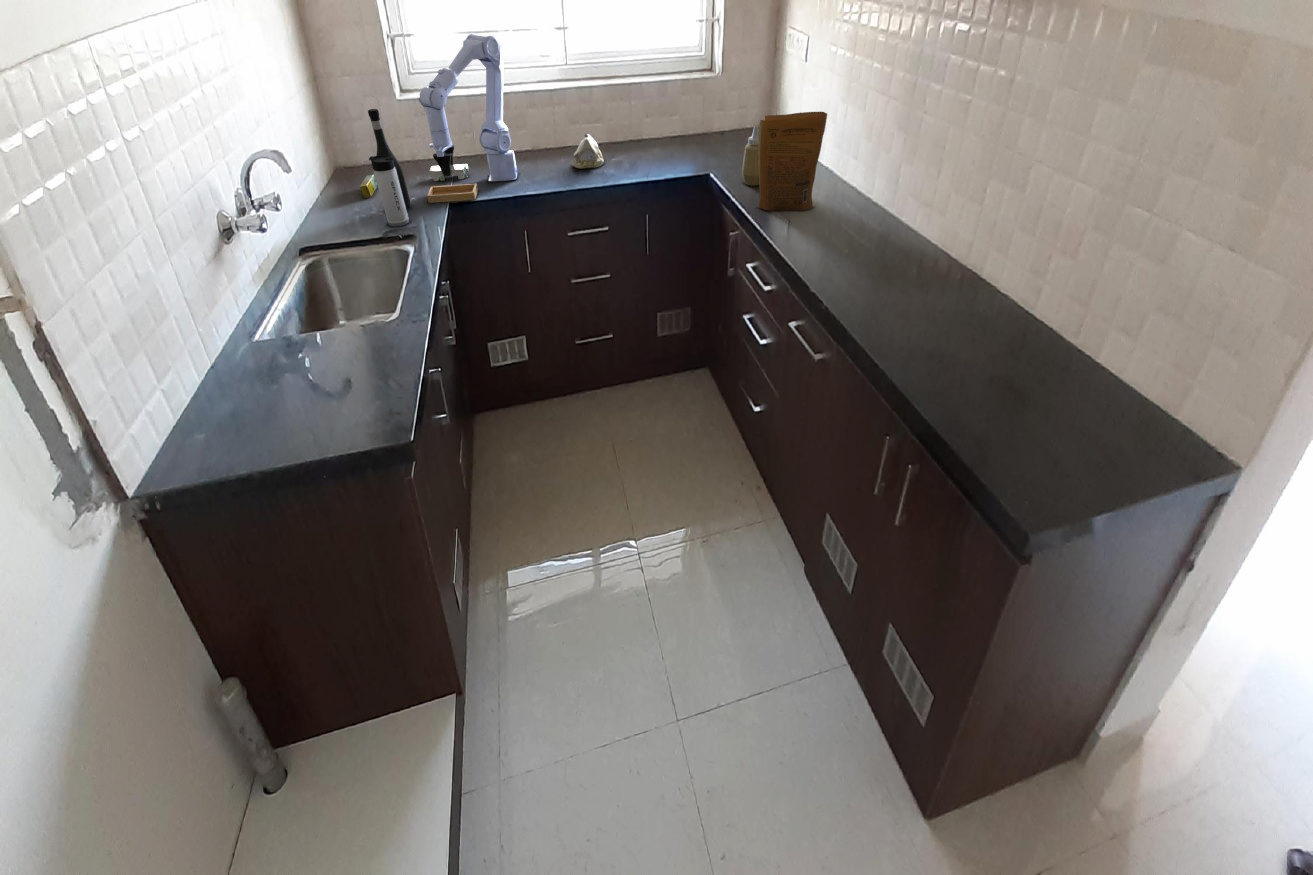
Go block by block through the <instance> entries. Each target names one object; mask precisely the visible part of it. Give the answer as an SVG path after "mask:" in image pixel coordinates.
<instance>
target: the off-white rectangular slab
mask: <svg viewBox="0 0 1313 875" xmlns="http://www.w3.org/2000/svg"><path fill="white" fill-rule="evenodd" d="M465 164H466V163H462V164H460V163H459V164H453V165H450V168H451V175H450V176H449V177H453V176H457V179H458V180H463V179H465V178H464V175H465V172H466V165H465ZM428 173H429V177H430V178H432V180H433V181H434V182H437V181H440V176H444V175H443V173H442V171H441V169H440V166H439V165H431V166H430V169H429V171H428Z"/></svg>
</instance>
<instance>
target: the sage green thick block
mask: <svg viewBox="0 0 1313 875" xmlns="http://www.w3.org/2000/svg"><path fill="white" fill-rule="evenodd" d="M464 164H465V165H466V172H465V175H464V178H463V179H467V178H469V174H470V170H469V166H468V163H464ZM445 177H446V176H440V178H439V181H440V182H442V181H446V178H445Z"/></svg>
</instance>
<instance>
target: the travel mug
mask: <svg viewBox="0 0 1313 875" xmlns="http://www.w3.org/2000/svg"><path fill="white" fill-rule="evenodd" d="M368 161H370V163H371V166H372V170H373V174H374V176H375V179H376V181H377V185H378V186H377V188H378V192H379V195H380V199H381V202H382V206H383V209H384V212H385V216H386V219H387V224H388V225H389V226H390V227H394V228H395V227H396V228H397V227H403V226H405V225H408V223H409V222H410V219H409V214H408V210H406V207H405V203H404V199H403V195H402V191H401V187H400V184H399V180H398V176H397V172H396V169H395V165H394V162H393V159H392V157H390V156H383V155H381V156H376V155H374V156H373V155H371V156H370V157H368Z"/></svg>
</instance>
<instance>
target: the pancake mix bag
mask: <svg viewBox="0 0 1313 875" xmlns="http://www.w3.org/2000/svg"><path fill="white" fill-rule="evenodd" d="M827 119H828V113H827V112H825V111H803V112H793V113H789V114H788V113H787V114H769V115H764V119H760V121H759V125H758V128H759V144H758V156H759V160H758V164H759V185H758V186H759V187H758V188H759V197H760V199H759V203H758V208H760V209H762V210H764V211H771V212H773V211H778V212H779V211H806V210H809V209H811V208H813V207H814V205H813V187H814V183H815V180H816V171H817V165H818V161H819V159H820V155H821V151H822V144H823V139H824V134H825V132H826V125H827Z"/></svg>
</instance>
